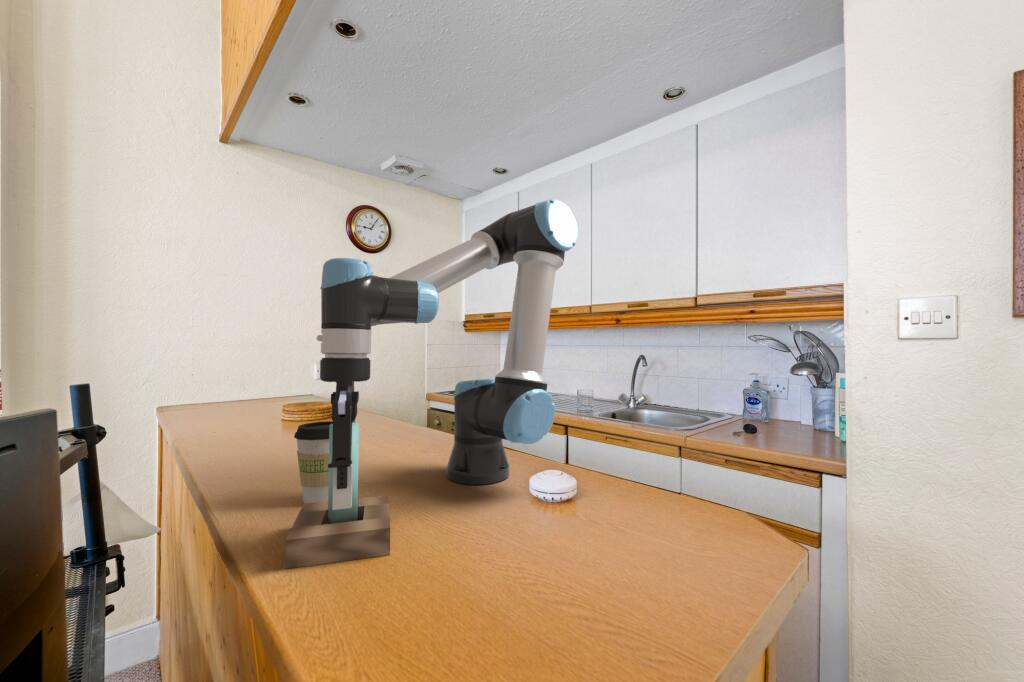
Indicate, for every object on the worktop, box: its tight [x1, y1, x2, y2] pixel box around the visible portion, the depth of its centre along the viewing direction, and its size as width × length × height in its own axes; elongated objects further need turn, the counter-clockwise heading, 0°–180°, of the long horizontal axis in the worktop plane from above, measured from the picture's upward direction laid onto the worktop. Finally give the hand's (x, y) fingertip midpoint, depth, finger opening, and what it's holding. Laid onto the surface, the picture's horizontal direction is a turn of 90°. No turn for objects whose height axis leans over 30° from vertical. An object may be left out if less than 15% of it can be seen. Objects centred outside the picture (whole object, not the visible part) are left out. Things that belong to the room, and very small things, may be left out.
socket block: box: [284, 495, 391, 570], centre depth 67 cm, size 14×14×4 cm
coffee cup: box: [293, 420, 333, 504], centre depth 84 cm, size 10×10×15 cm
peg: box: [328, 421, 360, 524], centre depth 67 cm, size 4×4×16 cm
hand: (343, 501), depth 67 cm, fingers closed on peg, 4 cm apart
